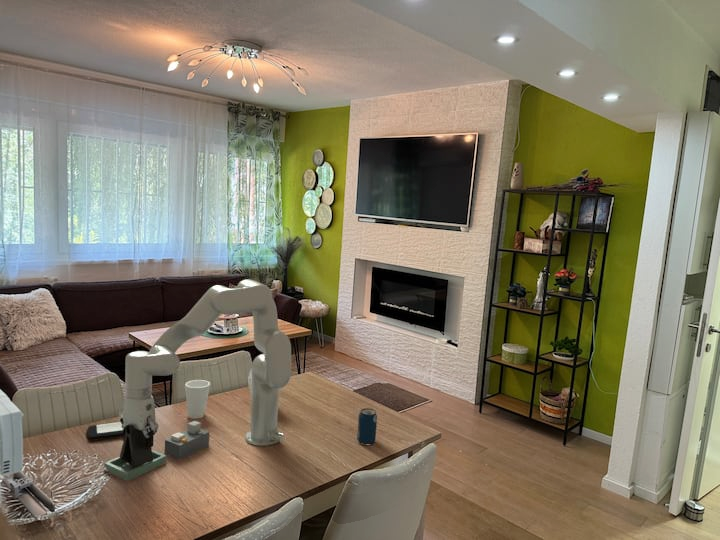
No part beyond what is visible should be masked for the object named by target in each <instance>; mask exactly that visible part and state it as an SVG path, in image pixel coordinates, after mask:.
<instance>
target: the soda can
mask: <svg viewBox="0 0 720 540" xmlns="http://www.w3.org/2000/svg"><path fill="white" fill-rule="evenodd" d="M357 419H358V421H357V422H358V423H357V433H356V434H357V435H356V440H357V441H359V442H360V443H363V444H372V443H373V444H374V443H375V441H376V436H377V423H378V415H377V411H376V410H375V409H373V408H362V409H361V410H360V412H359V414H358V418H357ZM359 442H358V443H359ZM360 443H359V444H360ZM373 444H372V445H373Z"/></svg>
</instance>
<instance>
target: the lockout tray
mask: <svg viewBox="0 0 720 540" xmlns="http://www.w3.org/2000/svg"><path fill="white" fill-rule="evenodd" d="M152 455H153V460H152V461H150V462H147V463H145V464H142V465H140V466H137V467H133V466H132V465H130V464H129V463H128V462H126V461H124V460H122V459H121V458H120V455H119V456H118V457H115V458H112V459H110V460H109V461H106V462H104V467H106V468H107V470H108V471H109V472H110V473H109V472H108V473H109V474H111V475H113V476H116V477H117V478H119V479H121V480H124V481H125V482H130V481H132V480H134V479H136V478H138V477H140V476H142V475H144V474H146V473H149V472H150V471H152V470H155V469H156V468H158V467H161V466H162V465H164V464H166V463H167V455H166V454H164V453H161V452H159V451H157V450H154V449H152ZM104 467H103V468H104Z"/></svg>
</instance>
